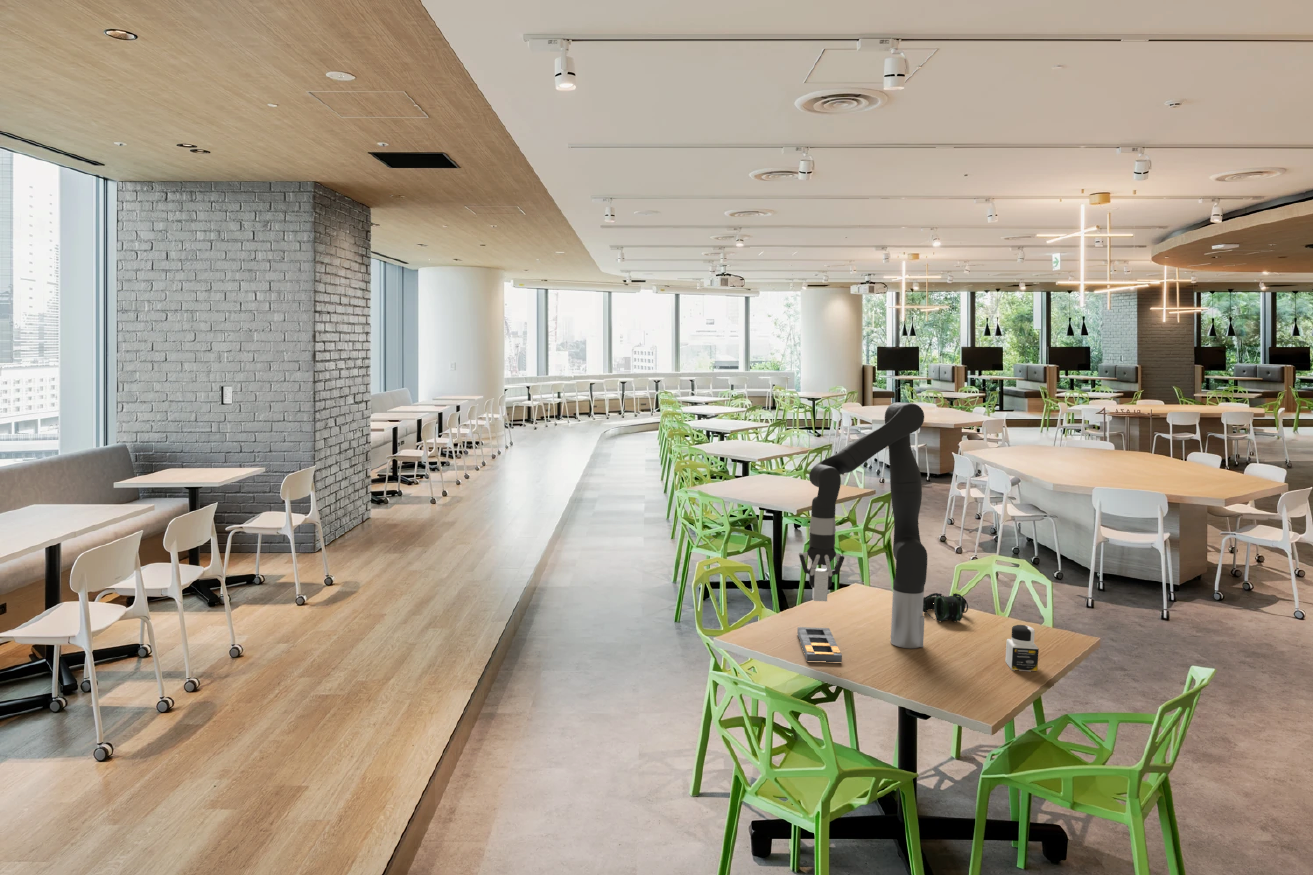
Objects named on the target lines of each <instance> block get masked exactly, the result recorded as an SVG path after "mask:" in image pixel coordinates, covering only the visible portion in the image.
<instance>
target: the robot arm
mask: <svg viewBox="0 0 1313 875" xmlns="http://www.w3.org/2000/svg"><path fill="white" fill-rule="evenodd" d="M924 422H925V414H924V410H923V409H922V408H921V407H920V405H918V404H915V403H911V402H898V401H897V402H893V403H891V404H890V405H889V406H888V407H887V408H886V410H885V413H884V424H883V425H882V426H880V427H879V428H877V429H875V430H873V431H871V432H869V433H867V434H865V435H863V436H861V437H859V438H857V439H855V440H854V441H852V442H851V443H849V444H848V445H847V446H845V447H844V448H842V449H841V450H840V451H838V452H837V453H835V454H833V455H831V456H829V457H828V458H825V459H823V460H821V461H820V462H818V463H817V464H815V465H814V466H813V467H812V468H811V469H810V471H809V475H808V476H809V477H808V478H809V481H810V483H811V484H812V485H813V486H815V487H817V488H818V492H817V496H815V497H813V499H812V501H811V515H810V516H811V517H810V522H809V538H808V539H809V541H808V543H809V545H808V549H807V551H804V552H799V553H798V556H799V560H800V563H801V567H802V570H803V574H808V576H809V577H808V578H809V579H808V580H809V581H808V584H809V586H810V587H811V588H812V589H813V588H814V572H815V569H816V568H817V567H818V566H820V565H823V566H825V569H827V571H828V589H830V587H832V585H833V584H832V583H833V576H835V575H839V573H840V571H841V568H842V566H843V563H844V560H845V556H844V554H843V553H842V554H839V553H837V552H836V550H835V549H836V548H835V547H836V546H835V545H836V530H837V529H836V505H837V504H836V503H837V501H838V497H839V494H840V489H841V485H842V477H841V475H843V474H848V473H852V472H853V471H855V470H856V469H858V468H859V467H860V466H862V465H863V464H864V463H866V462H867V461H868V460H870V459H871V458H872V457H874V456H875V455H876V454H878V453H879V452H881V451H883V450H884V449H886V448H887V447H888V458H889V459H888V461H889V462H888V463H889V474H890V475H889V477H890V478H889V482H890V483H889V484H890V495H891V496H890V497H891V498H890V499H891V506H892V507H891V508H892V513H893V521H894V522H893V524H894V525H893V526H894V528H893V529H894V530H893V541H892V542H893V544H892V545H893V546H892V553H893V557H894V559H895V574H894V575H895V576H894V579H893V582H892V603H891V605H892V606H891V623H890V624H891V626H890V643H891V644H892V645H893V646H896V647H898V648H904V649H918V648H924V641H925V640H924V639H925V637H924V636H925V620H926V619H925V618H926V617H925V616H924V614H923V613H924V612H923V599H924V597H925V596H924V595H925V593H924V592H925V585H926V583H927V582H926V581H927V571H928V553H927V549H926V547H925V546H924V544H922V541H921V535H920V528H919V516H920V510H921V505H922V497H923V494H922V493H923V490H922V489H923V488H922V485H923V484H922V474H921V470H920V467H919V465H918V463H917V460H916V458H915V456H914V453H913V450H912V446H911V434H912V433H914V432H916V431H919V429H920V428H921V427H922V426H923V425H924ZM807 557H809V558H810V560H811V563H810V567H809V568H808V566H807V563H806V560H807V559H808V558H807ZM834 558H835V560H836V563H835V566H834V569H832V567H831V562H832V561H833V560H834Z"/></svg>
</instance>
